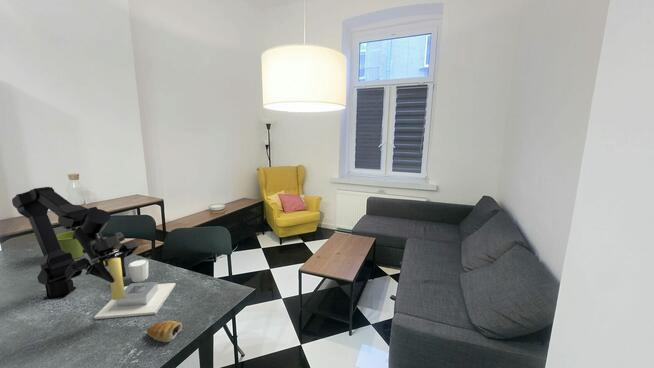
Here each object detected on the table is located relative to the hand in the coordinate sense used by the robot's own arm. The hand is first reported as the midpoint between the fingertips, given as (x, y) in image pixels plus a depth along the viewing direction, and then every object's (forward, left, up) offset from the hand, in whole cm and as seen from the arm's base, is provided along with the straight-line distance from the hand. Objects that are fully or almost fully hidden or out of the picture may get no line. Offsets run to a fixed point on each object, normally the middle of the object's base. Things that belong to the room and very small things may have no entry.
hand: (119, 279), depth 85 cm
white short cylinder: (-7, +25, -14) cm, 29 cm away
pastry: (+16, -10, -14) cm, 24 cm away
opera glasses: (-30, +41, -14) cm, 53 cm away
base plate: (0, +9, -13) cm, 16 cm away
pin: (-1, +1, -7) cm, 7 cm away
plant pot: (-47, +50, -14) cm, 70 cm away
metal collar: (0, +9, -13) cm, 16 cm away
